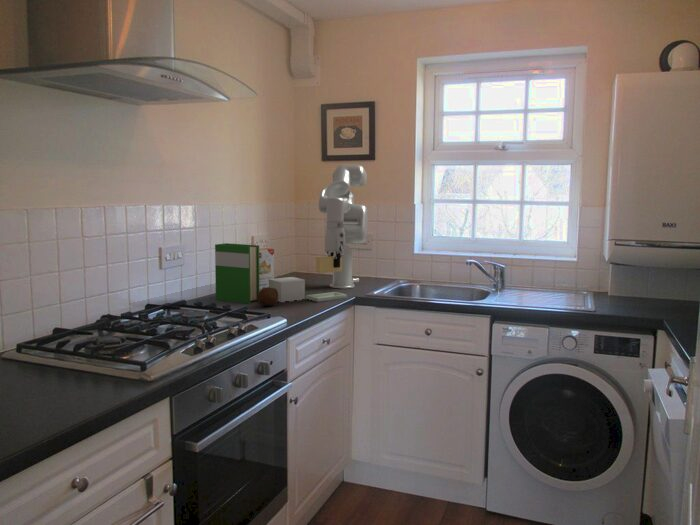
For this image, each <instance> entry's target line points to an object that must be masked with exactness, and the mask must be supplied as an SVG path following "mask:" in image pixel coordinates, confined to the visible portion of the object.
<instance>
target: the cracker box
mask: <svg viewBox="0 0 700 525" xmlns="http://www.w3.org/2000/svg"><path fill="white" fill-rule="evenodd" d="M274 270H275V249H274V248H270V247H268V248H267V247H264V248H259V292H260V291H261V290H263V289H264V288H267V287H269V279H275V277H274V275H275V274H274V272H275V271H274Z"/></svg>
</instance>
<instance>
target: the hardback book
mask: <svg viewBox="0 0 700 525" xmlns="http://www.w3.org/2000/svg"><path fill="white" fill-rule="evenodd" d="M259 249H260V245H255V244H243V243H242V244H240V243H227V242H226V243H217V244H214V254H215V256H214V259H215V260H214V261H215V262H214V264H215V265H214V266H215V272H214V273H215V274H214V275H215V300H217V301H224V302H234V303H241V304H248V303H250V304H251V302H252V301H253V300H257V295H258V293H259Z"/></svg>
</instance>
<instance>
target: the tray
mask: <svg viewBox="0 0 700 525" xmlns="http://www.w3.org/2000/svg"><path fill="white" fill-rule="evenodd" d="M307 299H309V300H308V301H311V300H312V301H311V302H314V301H315V303H323V301H325V302H329V301H330V302H332V301H338V300H346V299H348V294H347V293H342V292H338V291H332V292H325V293H324V292H323V293H317V294H316V293H314V294H307V295H306V300H307ZM331 300H332V301H331Z"/></svg>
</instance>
